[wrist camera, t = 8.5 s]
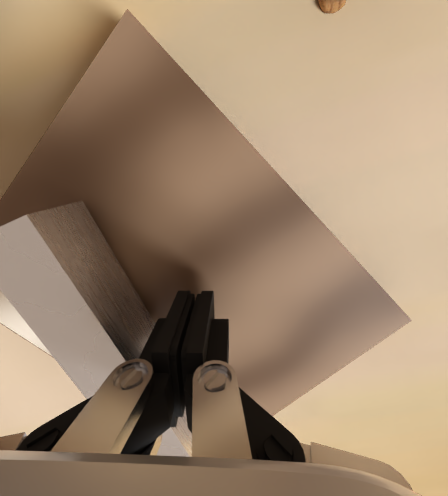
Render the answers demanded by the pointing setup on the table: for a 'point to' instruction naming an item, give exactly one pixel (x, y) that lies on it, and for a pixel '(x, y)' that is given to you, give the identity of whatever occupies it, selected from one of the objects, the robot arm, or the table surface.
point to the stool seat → (201, 221)
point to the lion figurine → (331, 5)
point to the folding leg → (78, 300)
